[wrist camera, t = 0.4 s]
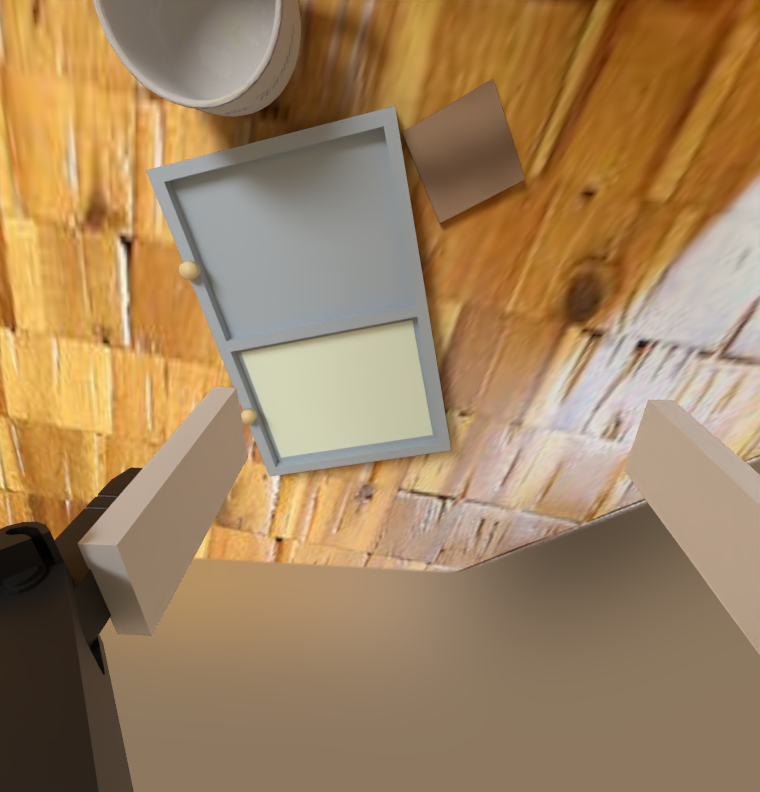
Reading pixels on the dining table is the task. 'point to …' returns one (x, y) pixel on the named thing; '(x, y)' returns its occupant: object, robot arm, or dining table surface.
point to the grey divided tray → (313, 291)
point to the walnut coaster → (465, 152)
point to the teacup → (207, 49)
